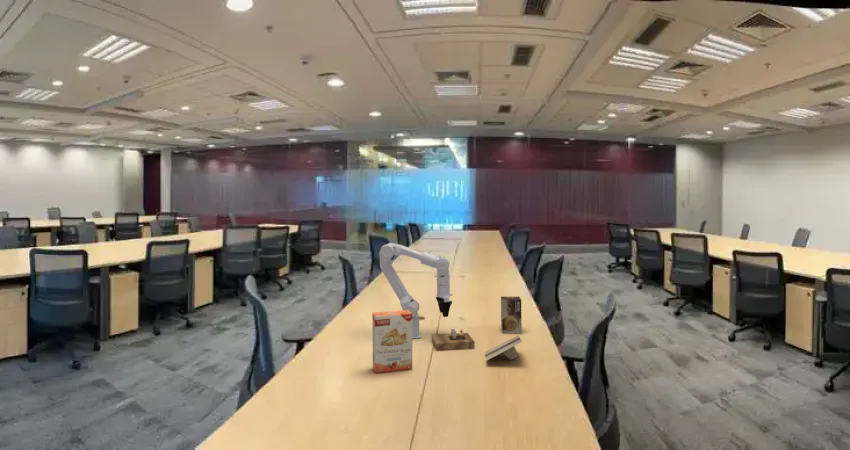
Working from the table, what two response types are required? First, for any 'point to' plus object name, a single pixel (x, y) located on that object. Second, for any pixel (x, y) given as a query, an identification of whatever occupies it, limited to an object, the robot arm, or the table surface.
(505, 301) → the coffee box
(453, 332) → the grey block
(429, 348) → the table surface
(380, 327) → the cracker box
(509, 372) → the table surface
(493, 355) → the grey slanted stand
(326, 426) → the table surface
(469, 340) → the well block
